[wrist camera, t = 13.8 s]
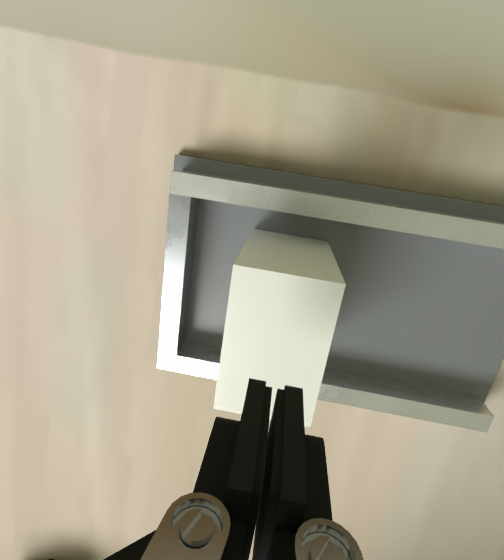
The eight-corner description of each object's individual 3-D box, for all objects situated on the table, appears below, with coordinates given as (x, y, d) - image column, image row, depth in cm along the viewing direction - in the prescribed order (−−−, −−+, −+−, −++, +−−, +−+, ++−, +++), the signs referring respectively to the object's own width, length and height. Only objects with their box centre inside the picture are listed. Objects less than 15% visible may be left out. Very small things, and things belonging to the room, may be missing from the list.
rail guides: (548, 229, 20) (575, 236, 18) (471, 411, 24) (487, 432, 22) (181, 169, 21) (171, 170, 19) (167, 352, 25) (156, 368, 24)
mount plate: (556, 214, 20) (563, 216, 20) (471, 416, 25) (475, 422, 24) (178, 154, 22) (174, 154, 21) (162, 356, 26) (159, 361, 26)
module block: (327, 241, 22) (345, 284, 14) (305, 343, 24) (310, 427, 16) (253, 228, 22) (232, 264, 14) (238, 331, 24) (213, 408, 17)
